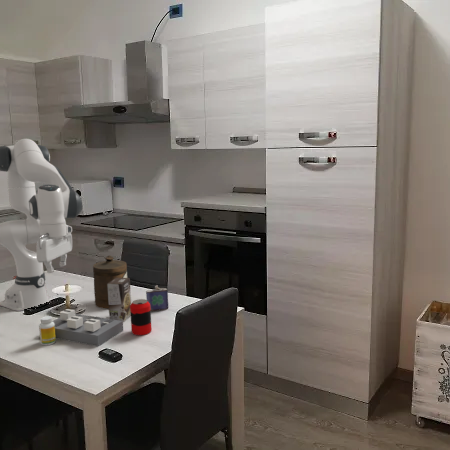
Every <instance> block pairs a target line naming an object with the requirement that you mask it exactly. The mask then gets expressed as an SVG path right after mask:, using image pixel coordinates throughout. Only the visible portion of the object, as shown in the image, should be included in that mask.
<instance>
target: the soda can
mask: <svg viewBox="0 0 450 450" xmlns="http://www.w3.org/2000/svg"><path fill="white" fill-rule="evenodd" d="M151 313H152V311H151V309H150V303H149V302H148V301H147V299H142V298H141V299H135V300H133V301H131V305H130V314H131V316H130V326H131V327H130V328H131V333H132V334H133V335H134V336H144V335H148V334H150V333H151V332H152V314H151Z"/></svg>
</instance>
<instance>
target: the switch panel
mask: <svg viewBox="0 0 450 450" xmlns="http://www.w3.org/2000/svg"><path fill="white" fill-rule="evenodd" d="M75 316H78V317H83V325H82V326H80V327H78V328H77V329H75V328H69V327H68V326H67V321H65V320H60V317H58V318H56V319H52V322H54V324H55V334H56V340H62V341H69V342H74V343H79V344H84V345H89V346H94V347H100V346H102V345H103V344H105V343H107V342H108V341H110V340H111V339H113V338H115V337H116V336H118V335H119V334H121V333H122V332H124V322H123V321H119V320H113V319H110V318H105V317H99V316H93V315H87V314H80V313H75ZM90 319H97V320H100V326H101V328H99V329H98V330H96V331H94V332H92V331H86V330H85V326H84V322H86V321H88V320H90Z"/></svg>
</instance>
